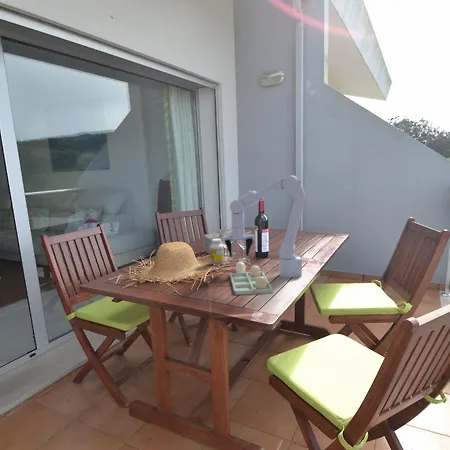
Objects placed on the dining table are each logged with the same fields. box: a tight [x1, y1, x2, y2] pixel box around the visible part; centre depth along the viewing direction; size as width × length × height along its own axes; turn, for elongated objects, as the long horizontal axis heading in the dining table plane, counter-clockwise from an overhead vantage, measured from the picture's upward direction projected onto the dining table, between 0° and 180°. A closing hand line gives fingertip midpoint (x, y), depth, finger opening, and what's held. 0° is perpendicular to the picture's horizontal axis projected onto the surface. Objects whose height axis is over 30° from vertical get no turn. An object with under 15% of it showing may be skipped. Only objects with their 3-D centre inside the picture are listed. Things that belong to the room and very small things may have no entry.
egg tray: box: [229, 270, 274, 296], centre depth 135 cm, size 15×22×2 cm
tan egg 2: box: [255, 276, 268, 289], centre depth 128 cm, size 4×4×5 cm
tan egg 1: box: [249, 264, 262, 277], centre depth 142 cm, size 4×4×5 cm
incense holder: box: [202, 232, 220, 255], centre depth 189 cm, size 10×8×10 cm
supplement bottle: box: [209, 238, 225, 266], centre depth 165 cm, size 7×7×13 cm
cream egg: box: [235, 261, 246, 273], centre depth 151 cm, size 4×4×5 cm
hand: (238, 255), depth 149 cm, fingers open, 7 cm apart
